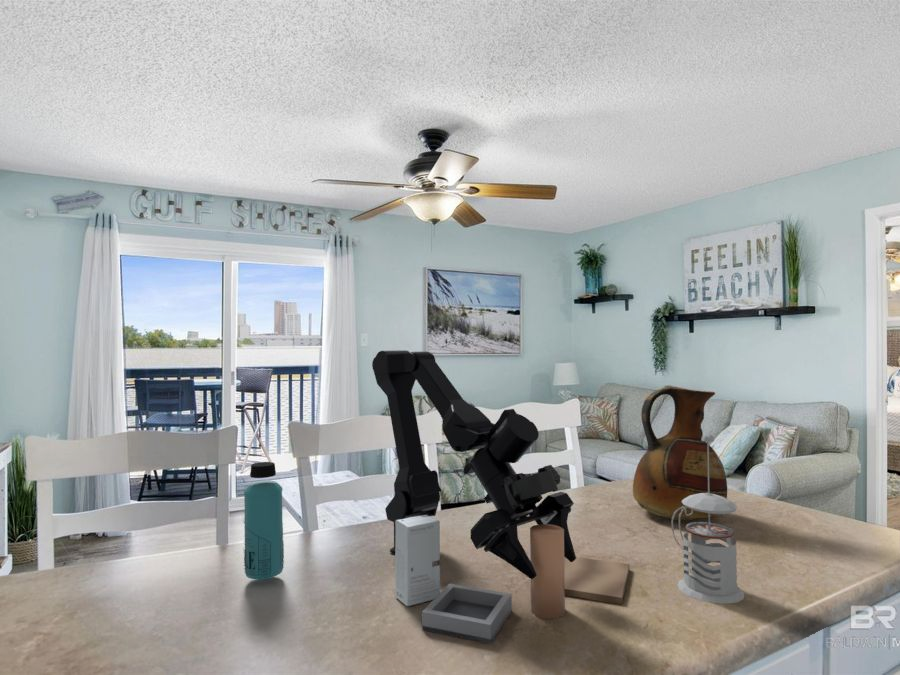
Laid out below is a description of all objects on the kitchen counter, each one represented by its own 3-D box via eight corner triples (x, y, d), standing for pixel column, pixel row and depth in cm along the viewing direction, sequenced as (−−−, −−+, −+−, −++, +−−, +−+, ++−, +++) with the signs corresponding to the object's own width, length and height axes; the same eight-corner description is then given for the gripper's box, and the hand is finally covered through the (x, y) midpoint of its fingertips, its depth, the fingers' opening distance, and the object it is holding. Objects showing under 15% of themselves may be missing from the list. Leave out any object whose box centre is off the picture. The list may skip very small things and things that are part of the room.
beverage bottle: (292, 575, 96) (291, 459, 97) (267, 591, 90) (267, 467, 91) (260, 571, 99) (260, 457, 99) (234, 586, 92) (234, 465, 93)
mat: (531, 589, 90) (531, 583, 90) (550, 558, 103) (550, 553, 103) (621, 604, 85) (621, 597, 85) (629, 569, 98) (629, 564, 98)
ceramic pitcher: (744, 528, 119) (742, 388, 119) (650, 529, 119) (647, 389, 120) (704, 503, 138) (702, 382, 139) (622, 503, 139) (621, 383, 139)
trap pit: (422, 629, 78) (422, 611, 78) (449, 599, 87) (449, 583, 87) (490, 643, 74) (490, 624, 74) (511, 610, 83) (511, 593, 83)
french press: (717, 609, 83) (714, 440, 83) (655, 580, 93) (653, 430, 94) (758, 595, 87) (755, 435, 88) (695, 569, 98) (693, 426, 98)
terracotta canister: (527, 615, 82) (526, 532, 82) (535, 600, 86) (534, 522, 86) (561, 621, 80) (560, 536, 80) (567, 606, 84) (566, 526, 85)
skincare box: (407, 608, 84) (407, 527, 84) (393, 597, 88) (393, 519, 88) (442, 597, 88) (441, 520, 88) (427, 587, 91) (426, 513, 92)
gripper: (482, 458, 80) (543, 556, 72) (563, 442, 92) (623, 525, 84) (447, 502, 86) (500, 598, 77) (527, 481, 98) (580, 562, 90)
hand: (554, 568), depth 82 cm, fingers open, 9 cm apart
